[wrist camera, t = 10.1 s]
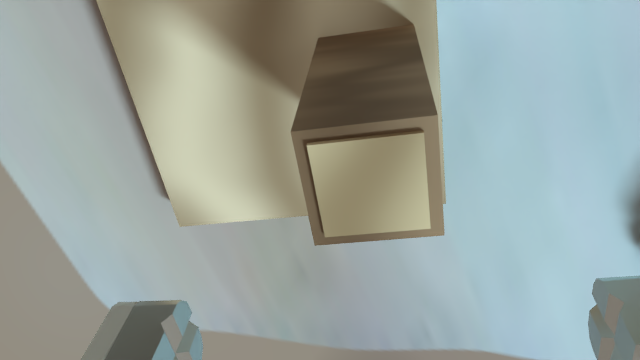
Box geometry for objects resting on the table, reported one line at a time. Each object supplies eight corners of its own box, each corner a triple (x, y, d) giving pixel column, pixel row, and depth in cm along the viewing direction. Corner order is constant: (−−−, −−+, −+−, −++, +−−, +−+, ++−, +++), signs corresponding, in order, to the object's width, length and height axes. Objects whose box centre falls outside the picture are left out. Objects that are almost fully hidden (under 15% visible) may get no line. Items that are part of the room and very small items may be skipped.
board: (426, -119, 20) (430, -118, 19) (442, 187, 27) (445, 203, 26) (93, -59, 22) (76, -54, 21) (188, 210, 29) (179, 226, 28)
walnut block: (413, 24, 21) (438, 117, 14) (420, 112, 23) (445, 238, 16) (318, 37, 22) (289, 134, 14) (332, 123, 24) (314, 248, 16)
